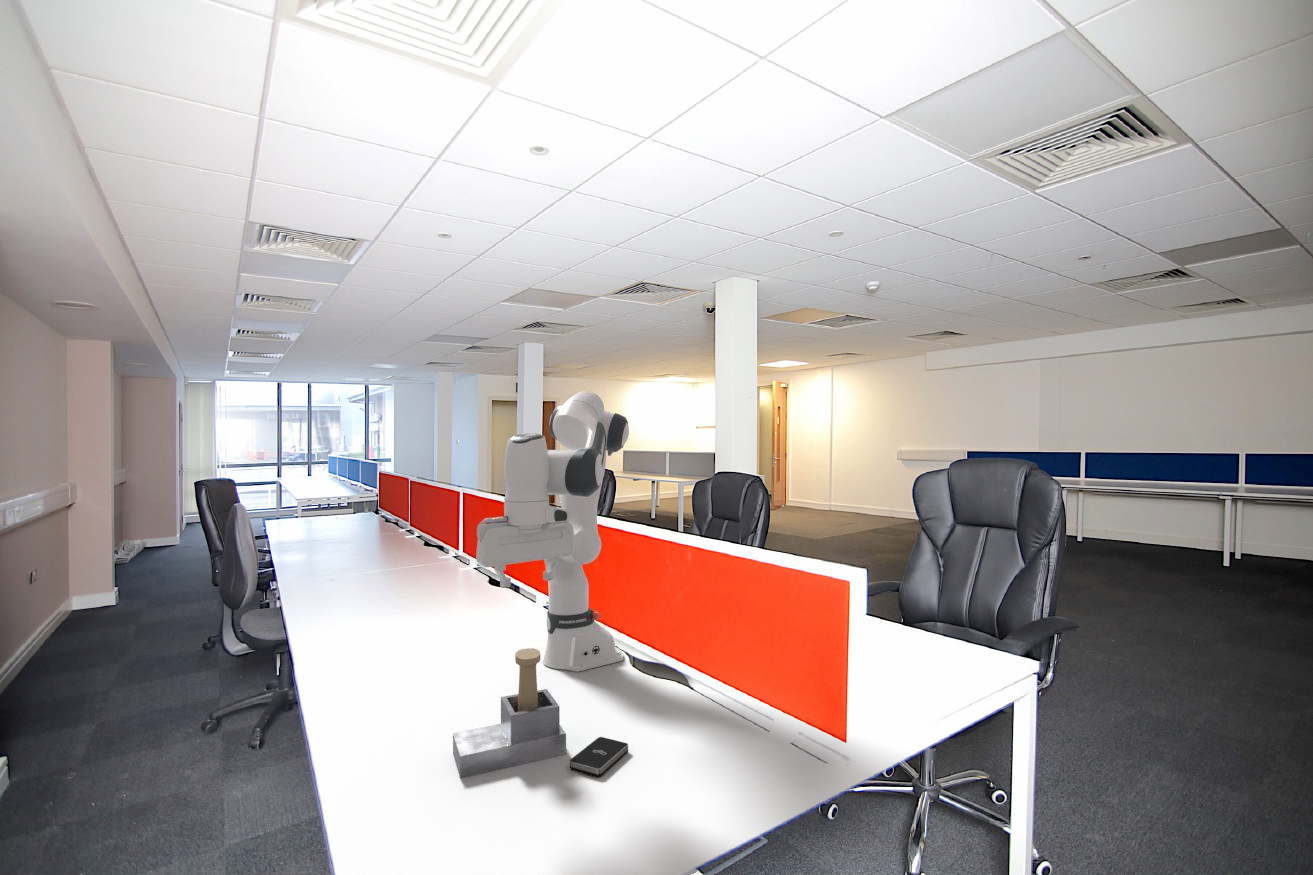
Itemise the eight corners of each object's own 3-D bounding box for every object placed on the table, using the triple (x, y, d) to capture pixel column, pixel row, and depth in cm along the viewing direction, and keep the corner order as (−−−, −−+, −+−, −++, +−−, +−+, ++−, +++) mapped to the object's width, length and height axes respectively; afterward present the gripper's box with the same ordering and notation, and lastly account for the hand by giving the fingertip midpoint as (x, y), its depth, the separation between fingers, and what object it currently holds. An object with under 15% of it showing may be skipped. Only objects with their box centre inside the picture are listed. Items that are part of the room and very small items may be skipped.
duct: (552, 732, 130) (552, 687, 130) (566, 754, 121) (566, 705, 121) (453, 753, 121) (453, 704, 121) (460, 778, 112) (460, 725, 112)
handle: (516, 737, 119) (516, 660, 119) (514, 723, 125) (514, 649, 125) (541, 734, 120) (541, 657, 120) (538, 720, 126) (538, 647, 127)
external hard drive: (629, 753, 121) (629, 743, 121) (599, 781, 112) (599, 769, 112) (599, 746, 125) (599, 736, 125) (567, 772, 115) (567, 761, 115)
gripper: (483, 520, 115) (484, 594, 114) (578, 511, 127) (578, 578, 127) (470, 517, 119) (471, 588, 119) (562, 509, 132) (563, 573, 132)
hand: (527, 583), depth 123 cm, fingers open, 8 cm apart
